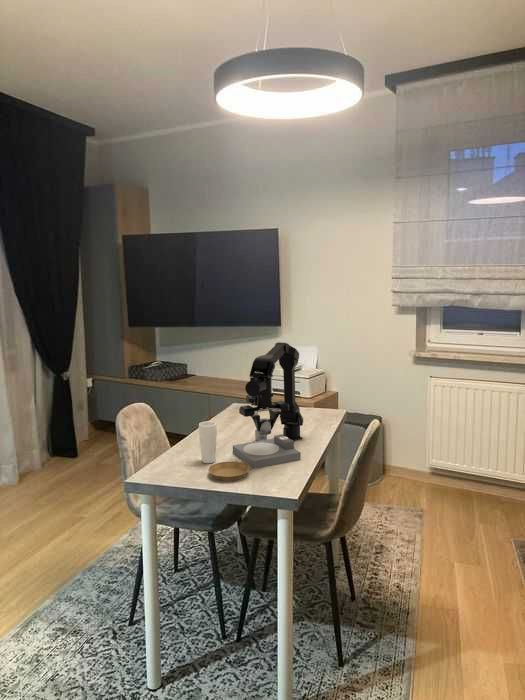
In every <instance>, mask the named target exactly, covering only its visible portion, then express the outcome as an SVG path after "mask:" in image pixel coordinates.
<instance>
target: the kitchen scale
mask: <svg viewBox="0 0 525 700" xmlns="http://www.w3.org/2000/svg"><path fill="white" fill-rule="evenodd" d="M232 453H233V454H234V455H235V456H237V457H238V458H239V459H241V461H243V463H244V464H247V465H248V466H249V468H251V469H253V470H255V469H259V468H265V467H270V466H275V465H280V464H287V463H291V462H296V461H300V460H301V457H302V456H301V455H302V454H301V452H300V451H299V450H297V449H296V448H295V440H291V439H289V438H288V437H286V436H284V435H283V434H275V435H274V436H273V438H267V440H261V441H251V442H245V443H244V442H243V443H239V444H232Z"/></svg>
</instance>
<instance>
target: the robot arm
mask: <svg viewBox="0 0 525 700" xmlns="http://www.w3.org/2000/svg"><path fill="white" fill-rule="evenodd" d="M299 359H300V352H299V351H298V350H297V348H295V347H293V346H292V345H290V344H289V343H287V342H282V341H281V342H280V341H279V342H276V343H274V346H273V347H272V348H271V349H270V350H268V351H267V353H266V354H262V355H259V356H256V357H255V358H254V360H253V362H252V364H251V367H250V372H249V381H248V382H247V383H246V384H245V387H244V389H245V392H246V394H247V395H246V396H245V397H246V399H245V400H246V403H247V404H248V405H241V406H240V407H239V408H238V412H239V413H238V414H240V415H242V416H243V417H246V418H247V417H251V419H252V421H253V423H254V426H255V428H256V429H257V431H258V432H259V431H260V419H261V415H260V414H259V412H265V411H268V413H269V419H270V420H271V431H272V430H273V428H274V426H275V424H276V421H277V419H280V424H281V425H284V426H283V428H282V430H283V431H282V433H283V434H282V435H284V436H286V437H288V438H289V439H291V440H293V441H296V440H302V439H303V436H301V427H302V426H303V425H304V417H303V415H302V414H301V411H300V406H299V404H298V403H297V401H296V373H295V372H296V370H295V369H296V368H297V366H298V363H299ZM277 362H278V363H279V366H280V367H281V368H282V371H283V396H284V397H283V399H284V400H278V401H274V403H273V400H272V399H273V398H272V397H274V393H273V392H272V390H273V389H272V388H273V387H272V386H273V385H272V378H273V377H274V375H273V373H274V371H275V367H276V363H277ZM253 406H254V407H253ZM256 429H255V430H256Z"/></svg>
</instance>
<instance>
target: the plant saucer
mask: <svg viewBox="0 0 525 700" xmlns="http://www.w3.org/2000/svg"><path fill="white" fill-rule="evenodd" d="M250 468H251V467H250V466H249V465H248V464H247V463H245V462H240V461H233V460H232V461H220V462H217V463H213V464H212V465H210V466H209V467H208V470H207V471H208V472H209V473H210V475H211V476H213V478H215V479H217V480H219V481H223V480H225V481H226V482H229V481H230V480H232V481H237V480H241V479H242V478H244V477H245V476H246V475H247V474H248V473H249V471H250ZM230 482H231V481H230Z"/></svg>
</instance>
